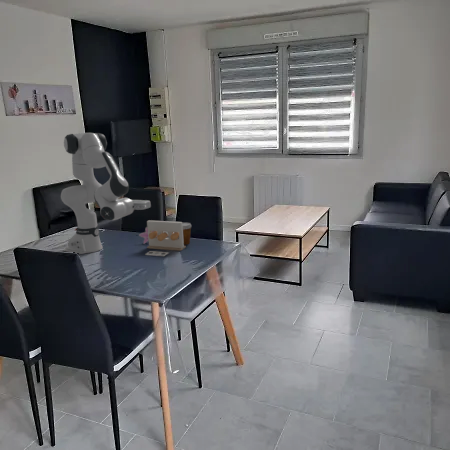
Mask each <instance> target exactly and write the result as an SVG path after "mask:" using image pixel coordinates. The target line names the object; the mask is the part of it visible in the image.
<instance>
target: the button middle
mask: <svg viewBox="0 0 450 450" xmlns="http://www.w3.org/2000/svg"><path fill="white" fill-rule="evenodd" d="M165 238H168V232H163V233H162V234H160V235H158V236H157V239H158V240H159V241H162V240H164V239H165Z"/></svg>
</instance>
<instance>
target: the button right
mask: <svg viewBox="0 0 450 450" xmlns="http://www.w3.org/2000/svg"><path fill="white" fill-rule="evenodd" d="M173 233H174V234H172V235H171V236H170V238H171V240H176V239H179V232H173Z"/></svg>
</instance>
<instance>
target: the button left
mask: <svg viewBox="0 0 450 450" xmlns="http://www.w3.org/2000/svg"><path fill="white" fill-rule="evenodd" d="M155 237H157V231H153V232H152V233H150V234H149V238H150V239H153V238H155Z"/></svg>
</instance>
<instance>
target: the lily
mask: <svg viewBox="0 0 450 450" xmlns="http://www.w3.org/2000/svg"><path fill="white" fill-rule="evenodd" d="M152 232H153V231H152ZM138 236H139V237H140V238H143V245H145V244H146V243H149V239H148V227H147V226H146V227H145V230H144V232H141V233H139V234H138Z"/></svg>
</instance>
